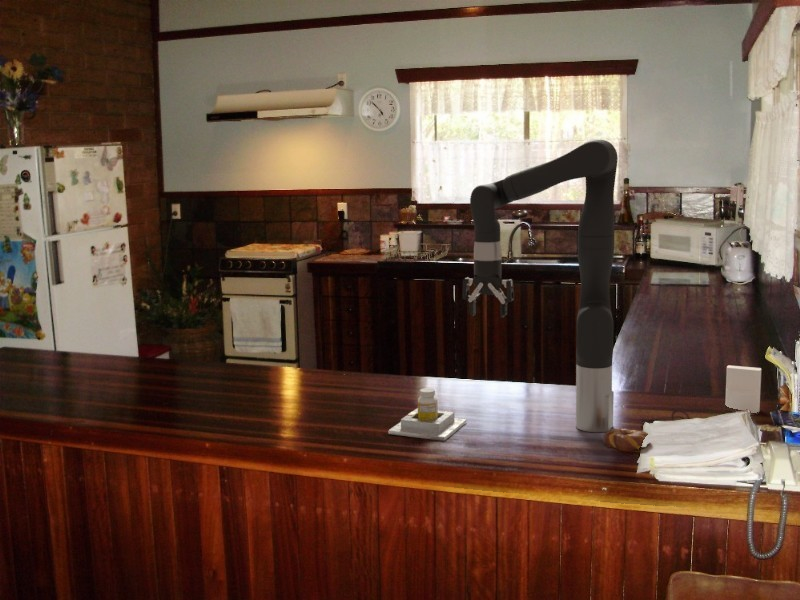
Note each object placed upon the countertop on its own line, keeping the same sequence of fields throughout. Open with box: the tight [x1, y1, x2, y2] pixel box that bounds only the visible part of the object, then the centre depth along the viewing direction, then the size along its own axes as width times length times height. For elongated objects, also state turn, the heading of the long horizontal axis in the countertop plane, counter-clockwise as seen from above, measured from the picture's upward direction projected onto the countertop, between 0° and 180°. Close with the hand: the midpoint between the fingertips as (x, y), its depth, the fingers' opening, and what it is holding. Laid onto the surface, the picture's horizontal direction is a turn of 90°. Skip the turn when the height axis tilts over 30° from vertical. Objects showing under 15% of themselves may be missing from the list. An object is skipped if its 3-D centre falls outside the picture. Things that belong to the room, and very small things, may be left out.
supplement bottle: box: [417, 387, 439, 421], centre depth 240 cm, size 5×5×10 cm
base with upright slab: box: [724, 364, 762, 414], centre depth 249 cm, size 9×9×12 cm
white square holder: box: [388, 407, 467, 442], centre depth 240 cm, size 16×16×4 cm
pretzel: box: [602, 427, 649, 452], centre depth 224 cm, size 12×11×4 cm
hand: (488, 315), depth 247 cm, fingers open, 8 cm apart
